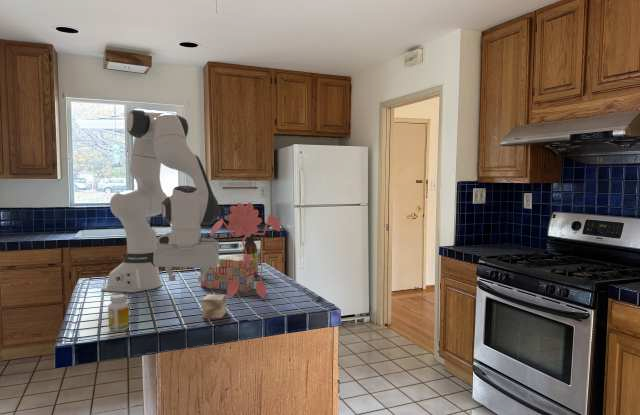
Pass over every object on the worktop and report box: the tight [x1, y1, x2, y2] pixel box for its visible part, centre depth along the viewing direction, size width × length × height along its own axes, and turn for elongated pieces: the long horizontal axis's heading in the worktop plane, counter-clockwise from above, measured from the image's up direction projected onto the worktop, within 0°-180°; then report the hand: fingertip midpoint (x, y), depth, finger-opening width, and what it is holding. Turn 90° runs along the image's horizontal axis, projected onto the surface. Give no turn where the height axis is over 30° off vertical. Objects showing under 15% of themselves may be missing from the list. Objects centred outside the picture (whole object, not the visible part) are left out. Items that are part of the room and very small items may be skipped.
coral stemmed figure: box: [210, 202, 281, 308], centre depth 158 cm, size 15×26×35 cm, turn 86°
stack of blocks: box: [199, 256, 255, 293], centre depth 177 cm, size 21×6×12 cm, turn 67°
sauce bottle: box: [242, 234, 259, 277], centre depth 199 cm, size 6×6×20 cm
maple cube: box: [201, 294, 227, 319], centre depth 142 cm, size 6×6×6 cm
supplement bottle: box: [107, 293, 130, 332], centre depth 130 cm, size 5×5×10 cm
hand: (186, 280), depth 142 cm, fingers open, 8 cm apart
